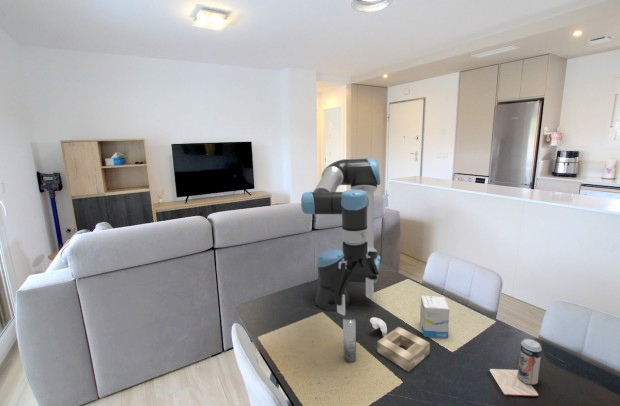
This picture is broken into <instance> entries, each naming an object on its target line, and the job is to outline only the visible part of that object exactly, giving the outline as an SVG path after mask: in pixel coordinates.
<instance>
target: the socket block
mask: <svg viewBox="0 0 620 406" xmlns="http://www.w3.org/2000/svg"><path fill="white" fill-rule="evenodd" d="M376 344H377V347H376V350H377V351H376V352H377V353H378V354H380V355H382V356H383V357H384V358H386V359H387V360H389V361H391V362H392V363H394V364H396V365H397V366H399V367H400V368H402V369H403V370H404V371H406V372H408V373H409V372H411V371H412V370H413V369H414V368H415V367H417V365H418V364H420V363H421V362H422V361H423V360H424V359H425V358H427V356H429V355H430V352H431V350H430V349H431V342H429V341H427V340H426V339H424V338H421V337H419V336H417V335H416V334H415V333H414V334H413V333H412V332H410V331H408V330H406V329H404V328H403V327H400V326H398V327H396V328H395V329H393V330H391V331H390V332H389V333H387V335H386V336H382V337H381V338H380V339H378V340H377V342H376ZM400 346H402V347H400ZM403 347H404V348H403Z"/></svg>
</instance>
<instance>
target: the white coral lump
mask: <svg viewBox="0 0 620 406" xmlns="http://www.w3.org/2000/svg"><path fill="white" fill-rule="evenodd" d="M369 322H370V323H371V325H372V328H373V329H372V330H371V332H374V331H375V330H378V329H380V331H381V335H382V337H384V336H386V335H387V334H388V327H387V324H386V322H385V321H384V320H382V319H381V318H378V317H371V318H370V319H369Z"/></svg>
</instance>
